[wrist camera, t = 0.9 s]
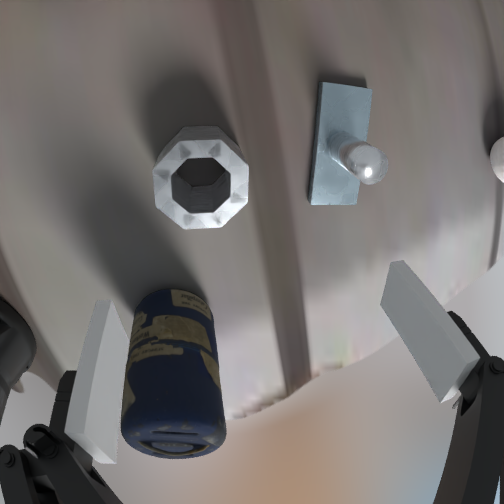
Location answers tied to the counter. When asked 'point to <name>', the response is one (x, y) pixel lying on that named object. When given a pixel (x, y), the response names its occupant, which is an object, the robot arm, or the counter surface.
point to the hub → (201, 197)
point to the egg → (498, 158)
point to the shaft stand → (343, 146)
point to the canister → (173, 379)
